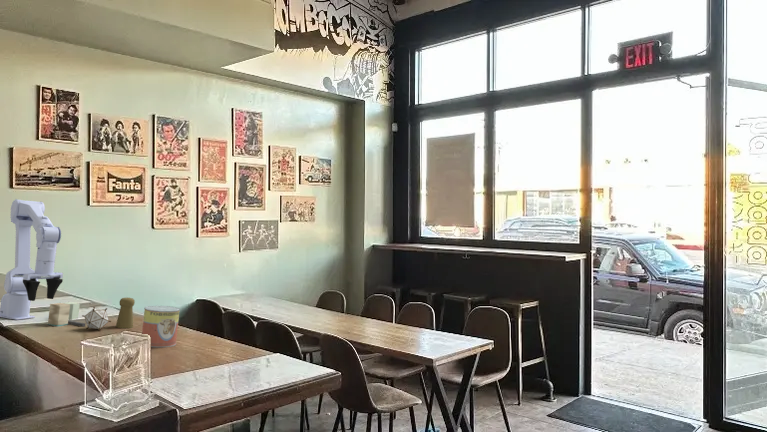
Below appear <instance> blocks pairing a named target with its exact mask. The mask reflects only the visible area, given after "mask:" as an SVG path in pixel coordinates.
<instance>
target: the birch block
mask: <svg viewBox="0 0 767 432" xmlns="http://www.w3.org/2000/svg"><path fill="white" fill-rule="evenodd" d="M64 303H65V302H59V303H58V302H57V303H55V302H54V303H50V304H49V311H48V320H47V321H48V322H47V325H48V326H53V327H63V326H68V325H69V324H68V321H69V320H68V319H69V310H70V304H64Z"/></svg>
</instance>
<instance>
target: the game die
mask: <svg viewBox="0 0 767 432" xmlns="http://www.w3.org/2000/svg"><path fill="white" fill-rule="evenodd" d="M107 310H108V307H105V309H102V308H96V306H93V308H92V309H91V310H90V311H89V312H87V314H85V315H81V317H84V320H85V324H86V326H87V327H86V330H88V329H95V330H98V331H99V332H101V328H103V327H104V326H105V325H107V324H108V323H111V322H112V320H109V316H108V313H107Z"/></svg>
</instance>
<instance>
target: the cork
mask: <svg viewBox="0 0 767 432" xmlns="http://www.w3.org/2000/svg"><path fill="white" fill-rule="evenodd" d="M135 302H136V301H135V299H134V298H132V297H122V298H120V300H119V306H120V307H119V311H118V316H117V320H116V322H115V323H116V324H115V328H117V329H133V328H134V317H133V316H134V314H133V313H134V312H133V310H134V309H133V307H134V305H135Z"/></svg>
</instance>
